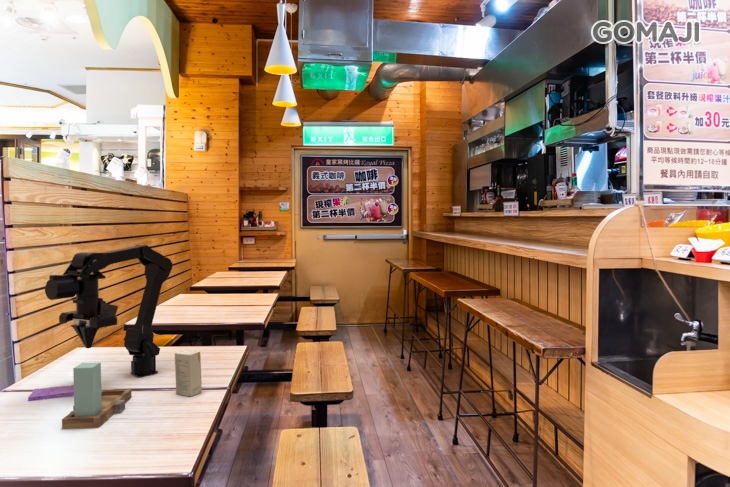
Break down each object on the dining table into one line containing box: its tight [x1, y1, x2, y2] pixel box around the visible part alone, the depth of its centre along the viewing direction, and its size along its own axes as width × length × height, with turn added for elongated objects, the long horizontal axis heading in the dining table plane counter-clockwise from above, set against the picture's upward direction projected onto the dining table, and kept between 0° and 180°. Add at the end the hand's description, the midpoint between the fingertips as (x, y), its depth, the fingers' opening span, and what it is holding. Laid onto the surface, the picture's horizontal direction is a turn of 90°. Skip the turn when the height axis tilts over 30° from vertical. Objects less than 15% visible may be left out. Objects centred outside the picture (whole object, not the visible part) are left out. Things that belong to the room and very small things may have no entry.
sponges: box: [27, 384, 74, 402], centre depth 135 cm, size 7×13×2 cm, turn 112°
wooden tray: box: [61, 388, 133, 430], centre depth 122 cm, size 20×12×3 cm, turn 6°
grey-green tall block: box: [73, 361, 102, 417], centre depth 116 cm, size 4×4×13 cm
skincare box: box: [174, 349, 203, 397], centre depth 135 cm, size 6×4×12 cm
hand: (88, 347), depth 136 cm, fingers closed
